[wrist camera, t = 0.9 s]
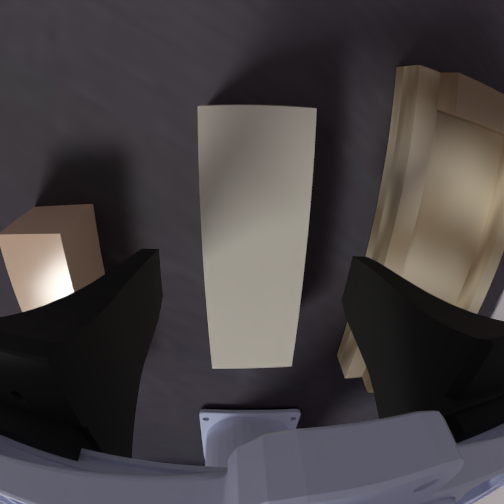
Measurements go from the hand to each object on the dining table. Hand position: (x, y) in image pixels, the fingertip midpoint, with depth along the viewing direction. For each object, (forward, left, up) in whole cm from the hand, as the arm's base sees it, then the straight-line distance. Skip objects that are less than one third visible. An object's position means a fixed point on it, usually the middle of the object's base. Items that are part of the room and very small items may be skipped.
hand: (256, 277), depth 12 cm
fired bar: (-5, +10, -5) cm, 12 cm away
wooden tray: (0, -11, -5) cm, 12 cm away
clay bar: (0, 0, -5) cm, 5 cm away
